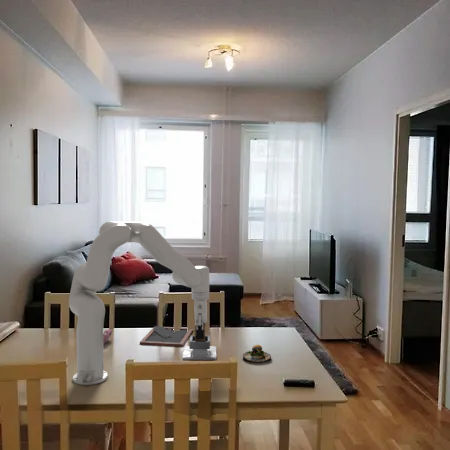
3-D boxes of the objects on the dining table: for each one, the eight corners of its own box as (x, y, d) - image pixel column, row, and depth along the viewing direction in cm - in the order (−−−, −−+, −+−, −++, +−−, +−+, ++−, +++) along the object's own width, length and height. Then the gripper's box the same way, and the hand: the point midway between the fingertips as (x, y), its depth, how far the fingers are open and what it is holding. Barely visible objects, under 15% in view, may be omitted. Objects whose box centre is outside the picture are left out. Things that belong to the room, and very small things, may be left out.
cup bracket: (216, 359, 200) (216, 343, 199) (182, 359, 199) (182, 343, 199) (216, 348, 214) (216, 333, 213) (184, 348, 213) (184, 333, 213)
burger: (238, 361, 198) (238, 344, 198) (248, 353, 209) (248, 336, 209) (265, 366, 194) (266, 348, 193) (274, 357, 204) (275, 340, 204)
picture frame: (154, 329, 243) (139, 345, 218) (154, 325, 243) (139, 341, 218) (193, 331, 240) (182, 348, 216) (193, 327, 240) (182, 343, 215)
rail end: (205, 343, 204) (205, 325, 203) (194, 343, 204) (194, 325, 203) (205, 340, 208) (205, 322, 208) (195, 340, 208) (195, 322, 208)
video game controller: (103, 349, 216) (110, 335, 215) (94, 344, 215) (101, 331, 215) (109, 342, 225) (115, 329, 225) (100, 337, 225) (106, 324, 225)
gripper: (209, 299, 196) (208, 343, 198) (209, 290, 213) (208, 331, 215) (190, 299, 196) (190, 343, 198) (192, 290, 213) (192, 331, 214)
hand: (200, 336), depth 206 cm, fingers closed on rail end, 4 cm apart
